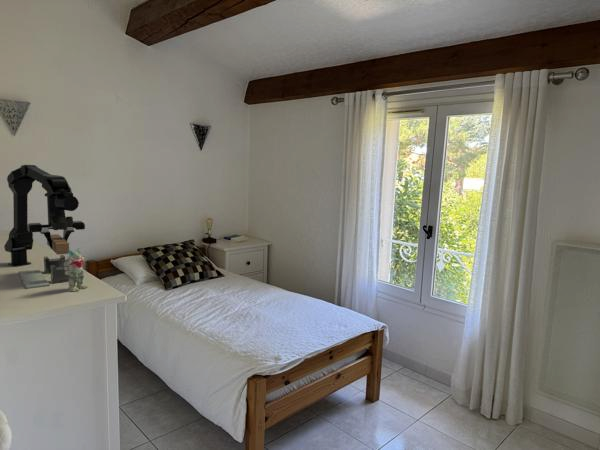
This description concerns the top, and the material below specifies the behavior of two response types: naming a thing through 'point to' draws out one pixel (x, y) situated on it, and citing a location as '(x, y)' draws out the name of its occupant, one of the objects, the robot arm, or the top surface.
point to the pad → (33, 279)
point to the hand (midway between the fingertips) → (57, 248)
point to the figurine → (74, 270)
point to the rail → (59, 244)
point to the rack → (56, 269)
